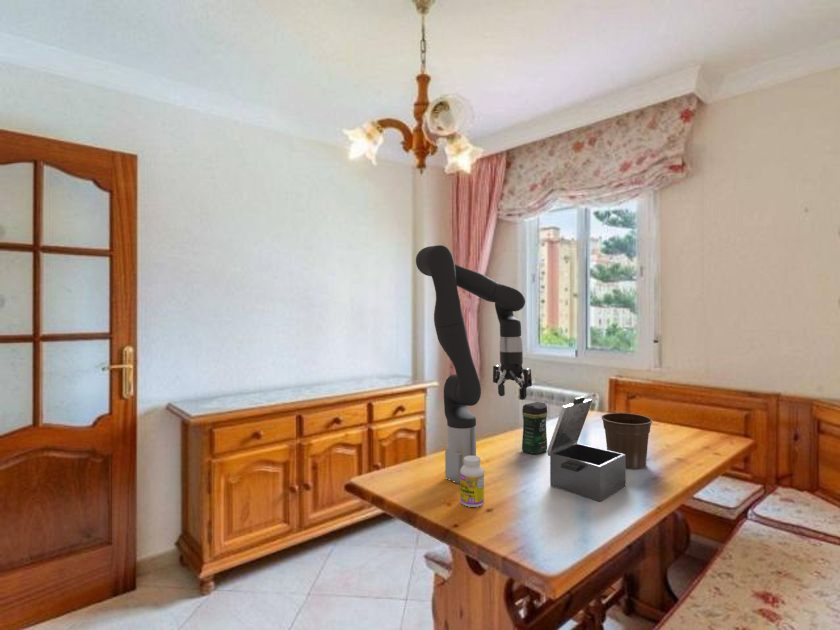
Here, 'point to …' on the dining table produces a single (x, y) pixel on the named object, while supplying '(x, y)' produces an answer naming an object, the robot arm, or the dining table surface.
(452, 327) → the robot arm
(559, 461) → the dark grey storage box
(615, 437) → the plant pot
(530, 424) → the coffee jar
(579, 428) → the grey box lid
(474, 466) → the supplement bottle
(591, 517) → the dining table surface
